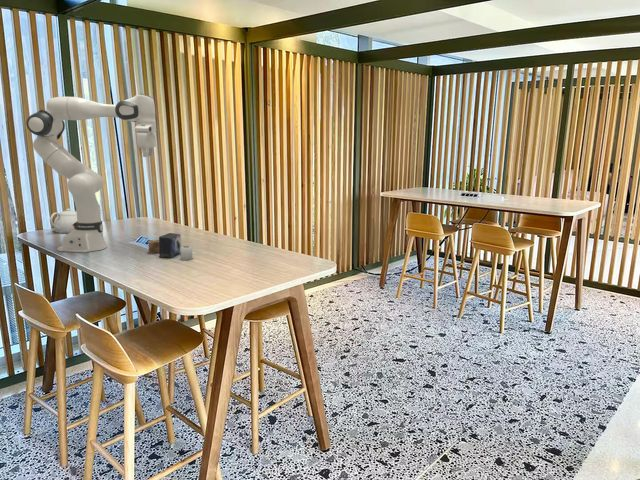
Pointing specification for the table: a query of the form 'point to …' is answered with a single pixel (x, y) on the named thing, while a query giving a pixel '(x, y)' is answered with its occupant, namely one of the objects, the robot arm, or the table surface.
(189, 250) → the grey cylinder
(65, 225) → the teapot
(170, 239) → the small box
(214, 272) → the table surface
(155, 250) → the walnut cube
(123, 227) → the table surface
